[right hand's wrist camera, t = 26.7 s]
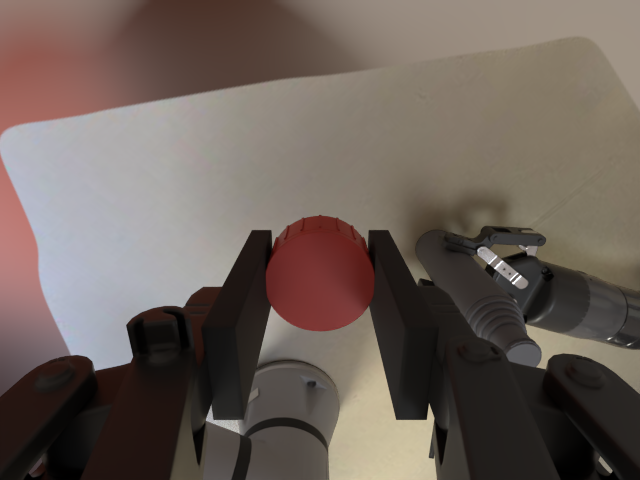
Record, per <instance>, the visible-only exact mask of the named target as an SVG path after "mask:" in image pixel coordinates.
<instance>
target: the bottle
mask: <svg viewBox="0 0 640 480" xmlns="http://www.w3.org/2000/svg"><path fill="white" fill-rule="evenodd" d="M446 233H447V232H445V231H441V230H433V231H429V232H427V233H425V234H424V235H423V236H422V237H421V238H420V239H419V240H418V242H417V245H416V255H417V257H418V259H419V261H420V262H421V264H422V265H423V267H424V268H425V270H426V272H427V273H428V275H429V276H430V278H431V279H432V281H433V283H434V284H435V286H438V287H439V288H441V289H442V290H444V291H445V292H447V293H448V294H449V295H450V296H451V298H452V299H453V301H454V302H455V305H457V307H458V308H459V310H460V313H462V314H463V316H464V317H465V319H466V320H467V322H468V323H469V325H470V326H471V328H472V329H473V331H474V332H475V334H476V335H477V337H480V338H483V339H486V340H488V341H490V342H493V343H494V344H495V345H497V346H498V347H500V348H501V349H502V350H503V352H504V353H505V354H506V356H507V358H508V360H509V361H510V362H514V363H518V364H522V365H527V366H531V367H536V366H537V365H538V364H539V363H540V361H541V353H542V352H541V349H540V347H539V346H538V345H537V344H536V342H535V341H533V340H532V339H530V338H529V336H528V335H527V331H526V327H525V322H524V318H523V313H522V311H521V309H520V308H519V306H518V304H517V303H516V301H515V300H514V299H513V298H512V297H511V296H510V295H509V294H508V293H507V292H506V291H505V290H504V289H503V288H502V287H501V286H500V285H499V284H498V283H497V282H496V281H495V280H494V279H493V278H492V277H491V276H490V275H489V274H488V273H487V272H486V271H485V270H484V269H483V268H482V267H481V266H480V265H479V264H478V263H477V262H476V261H475V260H474V259H473V258H472V257H471V256H470V255H467V254H464V253H460V252H457V251H454V250H450V249H447V248H444V247H442V246H440V244H439V243H438V242H437V239H438V237H439V235H442V236H445V234H446Z"/></svg>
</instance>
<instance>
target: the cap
mask: <svg viewBox="0 0 640 480" xmlns="http://www.w3.org/2000/svg"><path fill="white" fill-rule="evenodd" d="M265 274H266V292H267V298H268V300H269V302H270V304H271V305H272V307H273V309H274V310H275V311H276V312H277V313H278V314H279V315H280V316H281V317H282V318H283V319H284V320H286V321H287V322H289V323H290V324H292V325H294V326H297V327H299V328H302V329H305V330H311V331H329V330H335V329H338V328H341V327H344V326H346V325H348V324H350V323H352V322H353V321H354V320H356V319H357V318H358V317H359V316H361V315H362V314H363V312H364V311H365V310H366V309H367V307H368V306H369V304H370V302H371V300H372V298H373V295H374V279H375V271H374V268H373V264H372V260H371V257H370V254H369V251H368V248H367V245H366V242H365V239H364V237H361V235H360V234H359V233H358V232H357V231H356V230H355V229H354V227H353V226H352V225H351V226H350V225H349V224H347V223H346V222H344V221H342V220H339V219H338V218H337V217H336V218H333V217H328V216H321V215H319V216H313V217H307V218H302V219H301V220H299V221H297V222H295V223H293V224H291V225H290V226H289V225H288V226H287V227H286V229H285V230H284V231H283V232H282V233H281V234H280V236H279V237H276V239H275V242H274V246H273V249H272V252H271V255H270V258H269V261H268V264H267V268H266V272H265Z"/></svg>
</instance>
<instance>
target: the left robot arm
mask: <svg viewBox="0 0 640 480" xmlns="http://www.w3.org/2000/svg"><path fill="white" fill-rule="evenodd" d="M437 242H438V243H439V244H440V246H442V247H444V248H447V249H450V250H454V251H457V252H460V253H464V254H467V255H471V256H474V254H477V255H478V256H479V257H481V258H482V259H483V260H484V261H486V262H487V263H488V264H487V266H486V268H485V271H486V272H487V273H488V274H489V275H490V276H491V277H492V278H493V279H494V280H495V281H496V282H497V283H498V284H499V285H500V286H501V287H502V288H503V289H504V290H505V291H506V292H507V293H508V294H509V295H510V296H511V297H512V298H513V299H514V300H515V301H516V303H517V304H518V306H519V308H520V309H521V311H522V313H523V318H524V322H525V324H527V325H530V326H534V327H538V328H542V329H545V330H549V331H552V332H556V333H560V334H564V335H567V336H571V337H575V338H581V339H589V340H594V341H598V342H602V343H605V344H609V345H612V346H616V347H620V348H624V349H630V350H640V291H634V290H631V289H628V288H624V287H621V286H617V285H614V284H611V283H608V282H605V281H603V280H601V279H599V278H597V277H594V276H591V275H588V274H586V273H584V272H581V271H574V270H571V269H567V268H564V267H560V266H557V265H554V264H550V263H547V262H543V261H540V260H538V258H537V257H535V255H536V252H537V249H538V246H542V245H544V244H545V242H546V238H545V237H544V236H542V235H541V234H539V233H537V232H536V231H534V230H532V229H530V228H514V227H497V226H484V227H483V228H482V229H481V233H480V234H479V235H478V236H477V237H476V238H468V237H464V236H461V235H457V234H454V233H446V234H445V236H442V235H439V237H438V239H437ZM493 244H506V245H516V246H517V247H519V248H520V249H522V250H523V252H521V253H517V254H514V255H511V256H507V257H504V258H500V257H499V256H497V255H496V254H495V253H494V252H492V251H491V250H490V249H489V248H490V247H491V246H492V245H493ZM417 285H418V286H435V284H434V283H433V281H429V280H425V279H422V278H420V279H419V281H418V284H417Z"/></svg>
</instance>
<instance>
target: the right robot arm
mask: <svg viewBox="0 0 640 480" xmlns="http://www.w3.org/2000/svg"><path fill="white" fill-rule="evenodd" d="M368 251H369V254H370V257H371V260H372V264H373V268H374V271H375V279H374V295H373V298H372V300H371V302H370V304H369V307H370V312H371V316H372V320H373V324H374V328H375V333H376V337H377V341H378V345H379V349H380V353H381V358H382V362H383V366H384V370H385V374H386V379H387V383H388V387H389V391H390V395H391V400H392V404H393V408H394V412H395V416H396V420H427V413H428V406H429V404H430V406H431V409H432V412H433V415H434V418H435V419H434V426H433V433H432V439H431V446H430V453H429V458H433V459H434V455H435V464H436V473H437V480H640V394H639V393H638V392H636V391H635V390H634V389H633V388H632V387H631V386H630V385H628V384H627V383H626V382H625V381H624V380H623V379H621V378H620V377H619V376H618V375H617V374H616V373H614V372H613V371H611V370H610V369H609V368H607V367H606V366H604V365H602V364H600V363H598V362H596V361H594V360H592V359H590V358H587V357H582V356H579V355H573V354H559V355H554V356H553V357H551V358H550V359H549V360H548V364H547V367H546V369H541V368H536V367H531V366H527V365H522V364H518V363H514V362H510V361H509V360H508V358H507V356H506V354H505V353H504V352H503V350H502V349H501V348H500V347H498V346H497V345H495V344H494V343H493V342H490V341H488V340H486V339H483V338H480V337H477V335H476V334H475V332H474V331H473V329H472V328H471V326H470V325H469V323H468V322H467V320H466V319H465V317H464V316H463V314H462V313H460V310H459V308H458V307H457V305H455V302H454V301H453V299H452V298H451V296H450V295H449V294H448V293H447V292H445V291H444V290H442V289H441V288H439V287H438V286H417V284H416V282H415V280H414V278H413V276H412V275H411V273H410V271H409V269H408V267H407V265H406V263H405V261H404V259H403V258H402V256H401V254H400V252H399V250H398V248H397V246H396V244H395V242H394V240H393V239H392V237H391V235H390V233H389V231H388V230H369V236H368ZM271 252H272V232H271V230H252V231H251V233H250V235H249V237H248V239H247V241H246V243H245V245H244V247H243V248H242V250H241V252H240V254H239V256H238V258H237V260H236V262H235V264H234V266H233V267H232V269H231V271H230V273H229V275H228V277H227V279H226V281H225V283H224V285H223V286H222V287H203V288H201V289H200V290H198V291H197V292H195V293H194V294H192V295H191V297H190V298H189V300H188V301H187V303H186V304H185V306H184V307H183V308H181V307H177V306H163V307H157V308H153V309H150V310H147V311H144V312H142V313H140V314H138V315H137V316H135V317H134V318H132V319H131V320H130V321H129V323H128V324H127V325H126V326H127V331H128V335H129V340H130V344H131V349H132V353H133V358H132V361H131V363H128V364H125V365H121V366H116V367H112V368H107V369H102V370H97V371H95V370H94V366H93V363H92V361H91V360H90V359H89V358H88V357H84V356H79V355H74V356H65V357H60V358H56V359H53V360H50V361H48V362H46V363H44V364H42V365H40V366H38V367H36V368H35V369H33V370H32V371H30V372H29V373H28V374H26V375H25V376H24V377H23V378H21V379H20V380H19V381H18V382H17V383H16V384H15V385H13V386H12V387H11V388H10V389H9V390H8V391H7V392H5V393H4V394H3V395H2V396H1V397H0V480H329V460H328V447H329V444H330V441H331V438H332V435H333V432H334V429H335V426H336V423H337V420H338V415H339V396H338V392H337V389H336V387H335V385H334V383H333V381H332V380H331V379H330V378H329V377H328V376H327V375H326V374H325V373H324V372H322V371H321V370H320V369H318V368H316V367H314V366H312V365H309V364H306V363H303V362H298V361H278V362H273V363H269V364H266V365H264V366H262V367H260V368H258V369H256V367H257V363H258V359H259V354H260V350H261V346H262V342H263V338H264V334H265V329H266V325H267V321H268V317H269V313H270V308H271V304H270V302H269V300H268V298H267V292H266V274H265V272H266V268H267V264H268V261H269V258H270V255H271ZM211 404H212V412H213V419H214V420H238V422H239V430H240V434H238V433H236V432H233V431H231V430H228V429H226V428H223V427H220V426H218V425H215V424H213V423H210V422H207V421H206V417H207V415H208V412H209V409H210V406H211ZM600 456H601V457H602V458H603V459H604V461H605V462H606V463H607V464H608V465H609V467H610V468H611V469H612V470H613V471H612V473H609V472H608V471H607V470H606V469H605V468H604V467H603V466H602V465H601V463H600V462H599V461H598V460H599V458H600ZM40 458H41V459H42V463H41V465H40V466H39V467H38V468H37V469H36V470H35V471H34V472H33V473H32V474H31V475H30V474H29V473H28V472H29V471H30V470H31V468H32V467H33V466H34V465H35V464H36V462H37V461H38V460H39V459H40Z"/></svg>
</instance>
